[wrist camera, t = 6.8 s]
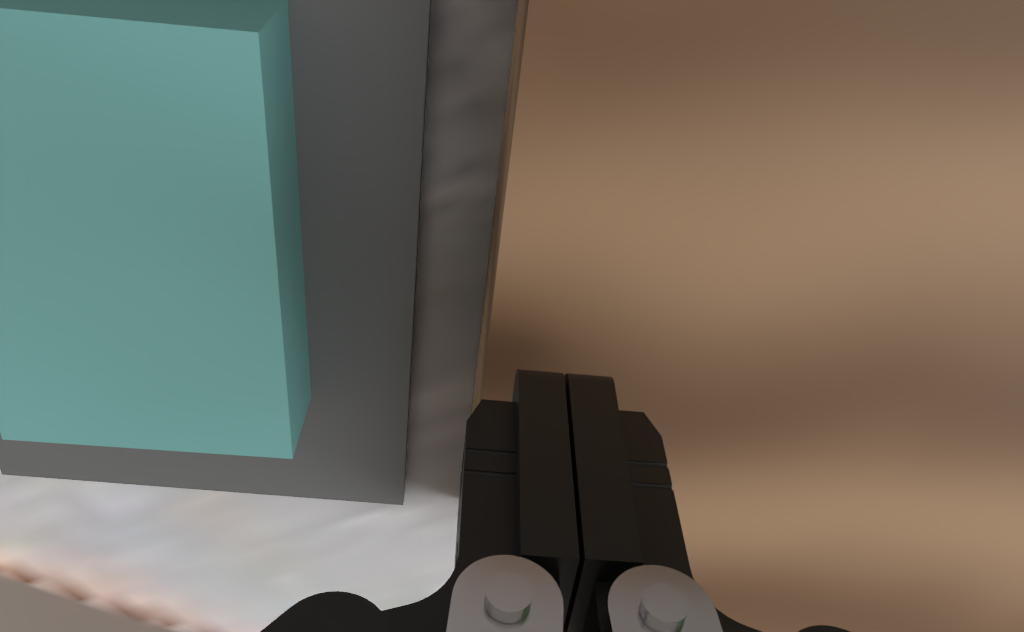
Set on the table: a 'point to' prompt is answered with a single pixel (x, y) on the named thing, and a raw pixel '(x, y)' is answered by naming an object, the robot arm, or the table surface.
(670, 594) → the robot arm
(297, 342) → the teal flat block
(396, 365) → the mat
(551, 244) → the wooden block
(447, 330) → the table surface
